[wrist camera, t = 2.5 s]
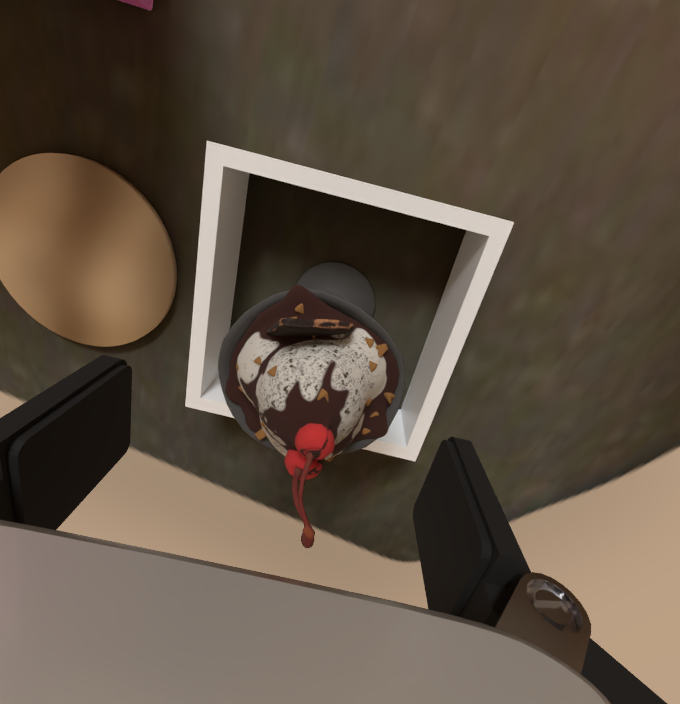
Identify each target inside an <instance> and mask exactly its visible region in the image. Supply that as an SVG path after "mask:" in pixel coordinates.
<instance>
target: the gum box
mask: <svg viewBox="0 0 680 704" xmlns="http://www.w3.org/2000/svg"><path fill="white" fill-rule="evenodd" d="M118 1H121V2H125V3H128V4H131V5H134V6H137V7H140V8H143V9H146V10H148V11H151V10H152V8H153V0H118Z"/></svg>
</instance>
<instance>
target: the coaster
mask: <svg viewBox="0 0 680 704" xmlns="http://www.w3.org/2000/svg"><path fill="white" fill-rule="evenodd" d="M0 279H1V281H2V283H3V285H4V286H5V287H6V289H7V290H8V292H9V293H10V294H11V296H12V297H13V298H14V299H15V300H16V302H17V303H18V304H19V305H20V306H21V307H22V308H23V309H24V310H25V311H26V312H27V313H28V314H29V315H30V316H32V317H33V318H34V319H35V320H37V321H38V322H39V323H40V324H42V325H43V326H45V327H46V328H48V329H49V330H51V331H53V332H55V333H57V334H58V335H60V336H63V337H65V338H67V339H70V340H72V341H75V342H79V343H82V344H87V345H92V346H103V347H108V346H118V345H123V344H127V343H130V342H133V341H136V340H137V339H139V338H141V337H143V336H145V335H146V334H148V333H149V332H150V331H152V330H153V329H154V328H155V327H157V326H158V325H159V323H160V322H161V321H162V320H163V319H164V317H165V316H166V314H167V313H168V311H169V309H170V307H171V305H172V303H173V299H174V296H175V292H176V285H177V265H176V258H175V253H174V249H173V246H172V242H171V240H170V237H169V235H168V232H167V230H166V228H165V226H164V224H163V222H162V220H161V218H160V217H159V215H158V214H157V212H156V211H155V209H154V208H153V206H152V205H151V204H150V203H149V201H148V200H147V199H146V198H145V197H144V195H143V194H142V193H141V192H140V191H139V190H138V189H137V188H136V187H135V186H134V185H133V184H131V183H130V182H129V181H128V180H126V179H125V178H124V177H122V176H121V175H120V174H118V173H117V172H115V171H113V170H112V169H110V168H109V167H107V166H104V165H102V164H100V163H98V162H96V161H93V160H90V159H87V158H84V157H81V156H75V155H70V154H62V153H41V154H34V155H31V156H27V157H24V158H22V159H20V160H18V161H16V162H14V163H12V164H11V165H9V166H8V167H7V168H6V169H4V170H3V171H2V172H1V174H0Z"/></svg>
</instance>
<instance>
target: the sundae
mask: <svg viewBox="0 0 680 704" xmlns="http://www.w3.org/2000/svg"><path fill="white" fill-rule="evenodd" d="M374 310H375V299H374V292H373V290H372V287H371V285H370V283H369V282H368V280H367V278H366V277H365V276H364V275H363V274H362V273H361V272H359V271H358V270H357V269H356V268H354V267H352V266H349V265H347V264H344V263H340V262H326V263H320V264H318V265H316V266H314V267H312V268H310V269H308V270H307V271H306V272H305V273H304V274H303V275H302V276H301V277H300V279H299V280H298V282H297V283H296V285H295V286H293V287H292V288H291V289H290V290H289V291H285V292H281V293H277V294H275V295H273V296H271V297H269V298H267V299H265V300H263V301H261V302H259V303H258V304H256V305H255V306H253V307H252V308H250V309H249V310H247V311H246V312H244V314H243V315H242V316H241V317H240V318H239V319H238V320H237V321H236V322H235V323H234V325H233V326H232V327H231V329H230V330H229V332H228V333H227V335H226V336H225V338H224V339H223V342H222V346H221V349H220V353H219V359H218V372H219V379H220V383H221V388H222V392H223V395H224V398H225V401H226V404H227V406H228V408H229V409H230V411H231V413H232V415H233V417H234V418H235V420H236V421H237V423H238V424H239V425H240V427H241V428H242V430H243V431H244V432H246V433H247V434H248V435H249V436H250V437H252V438H253V439H254V440H255V441H257V442H259V443H260V444H262V445H264V446H265V447H267V448H269V449H271V450H275V451H278V452H280V453H282V454H283V455H284V456H285V460H284V462H285V466H286V469H287V470H288V472H289V474H291V475H292V476H293V480H292V492H293V500H294V504H295V506H296V509H297V511H298V513H299V515H300V517H301V519H302V521H303V522H304V529H303V534H302V536H301V542H302V544H303V546H304V547H305V548H310V547H312V545H313V542H314V535H315V531H314V530H313V529H312V527H311V525H310V523H309V521H308V519H307V516H306V513H305V510H304V506H303V492H304V484H305V481H306V480H307V479H311V478H314V477H316V476H317V475H318V474H319V472H320V471H321V470H322V465H323V463H324V460H327V461H328V462H330V461H331V460H332V459H333V458H334V457H335V456H336V455H342V454H346V453H351V452H354V451H357V450H360V449H363V448H365V447H367V446H368V445H370V444H371V443H372V442H374V441H375V440H377V439H378V438H381V437H383V436H385V435H386V434H387V432H388V429H389V427H390V425H391V423H392V421H393V419H394V417H395V416H396V414H397V412H398V409H399V407H400V404H401V401H402V399H403V393H404V386H405V369H404V364H403V359H402V357H401V355H400V352H399V350H398V348H397V346H396V345H395V343H394V342H393V340H392V339H391V337H390V336H389V334H388V333H387V331H386V330H385V329H384V328H383V327H381V326H380V325H379V324H378V323H377V322H376V321H375V320H374V319H373V318H372V316H373V313H374ZM299 479H300V484H299V491H298V481H299ZM298 495H299V499H298Z"/></svg>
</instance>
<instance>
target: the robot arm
mask: <svg viewBox="0 0 680 704" xmlns="http://www.w3.org/2000/svg"><path fill="white" fill-rule="evenodd" d="M131 387H132V369H131V367H130V366H127V363H126V361H125V360H123V359H119V358H114V357H110V356H106V355H102V356H100V357H98V358H97V359H95V360H93V361H92V362H90V363H88V364H87V365H85V366H84V367H82V368H80V369H79V370H77V371H76V372H74V373H72V374H71V375H69V376H68V377H66V378H64V379H63V380H61V381H59V382H58V383H56V384H55V385H53V386H51V387H50V388H48V389H47V390H45V391H43V392H42V393H40V394H39V395H37V396H35V397H34V398H32V399H31V400H29V401H27V402H26V403H24V404H22V405H21V406H19V407H18V408H16V409H14V410H13V411H11V412H10V413H8V414H6V415H5V416H3V417H2V418H0V704H667V703H665V702H664V701H663V700H662V699H661V698H660V697H659V696H657V695H656V694H655V693H654V692H653V691H652V690H650V689H649V688H648V687H647V686H646V685H644V684H643V683H642V682H641V681H640V680H639V679H638V678H636V677H635V676H634V675H633V674H631V673H630V672H629V671H628V670H627V669H626V668H625V667H623V666H622V665H621V664H620V663H619V662H618V661H616V660H615V659H614V658H613V657H612V656H611V655H609V654H608V653H607V652H606V651H605V650H604V649H602V648H601V647H600V646H599V645H598V644H597V643H595V642H594V641H593V640H592V639H591V638H590V635H591V623H590V621H589V617H588V615H587V613H586V611H585V609H584V608H583V606H582V604H581V603H580V602H579V601H578V599H577V598H576V597H575V596H574V595H573V594H572V593H571V592H570V591H569V590H568V589H567V588H565V587H564V586H563V585H562V584H560V583H559V582H557V581H556V580H554V579H553V578H551V577H548V576H546V575H543V574H540V573H533V572H532V573H531V571H530V569H529V567H528V565H527V562H526V560H525V558H524V556H523V554H522V551H521V549H520V547H519V545H518V543H517V541H516V538H515V536H514V534H513V532H512V530H511V527H510V525H509V523H508V521H507V519H506V516H505V514H504V512H503V510H502V508H501V505H500V503H499V501H498V499H497V497H496V495H495V493H494V491H493V489H492V486H491V484H490V482H489V480H488V478H487V475H486V473H485V471H484V469H483V467H482V464H481V462H480V460H479V458H478V456H477V453H476V451H475V449H474V447H473V445H472V443H471V441H468V440H464V439H460V438H455V437H450V438H449V439H448V441H447V440H443V441H442V442H441V444H440V447H439V449H438V451H437V454H436V456H435V458H434V461H433V463H432V465H431V468H430V470H429V473H428V475H427V477H426V480H425V482H424V484H423V487H422V489H421V491H420V494H419V496H418V498H417V501H416V503H415V506H414V510H413V520H414V526H415V532H416V538H417V544H418V550H419V556H420V562H421V567H422V573H423V579H424V585H425V591H426V597H427V603H428V609H425V608H420V607H416V606H412V605H408V604H403V603H399V602H395V601H391V600H386V599H381V598H377V597H372V596H368V595H363V594H358V593H354V592H348V591H344V590H340V589H335V588H331V587H326V586H321V585H317V584H312V583H308V582H303V581H298V580H294V579H289V578H284V577H280V576H275V575H270V574H265V573H261V572H256V571H251V570H246V569H242V568H237V567H232V566H227V565H223V564H218V563H213V562H208V561H204V560H199V559H194V558H189V557H184V556H180V555H175V554H170V553H165V552H160V551H155V550H150V549H146V548H141V547H136V546H131V545H126V544H121V543H116V542H112V541H107V540H102V539H97V538H92V537H87V536H82V535H77V534H72V533H67V532H63V531H57V530H56V529H57V528H58V527H59V526H60V525H61V524H62V523H63V522H64V521H65V519H66V518H67V517H68V516H69V515H70V514H71V513H72V512H73V510H75V508H76V507H77V506H78V505H79V504H80V502H82V501H83V500H84V498H85V497H86V496H87V495H88V494H89V493H90V492H91V491H92V490H93V489H94V487H95V486H96V485H97V484H98V483H99V482H100V481H101V480H102V479H103V477H104V476H105V475H106V474H107V473H108V472H109V471H110V470H111V469H112V468H113V466H114V465H115V464H116V463H117V462H118V461H119V460H120V459H121V457H123V455H124V454H125V453H126V451H127V450H128V447H129V444H130V427H131Z"/></svg>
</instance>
